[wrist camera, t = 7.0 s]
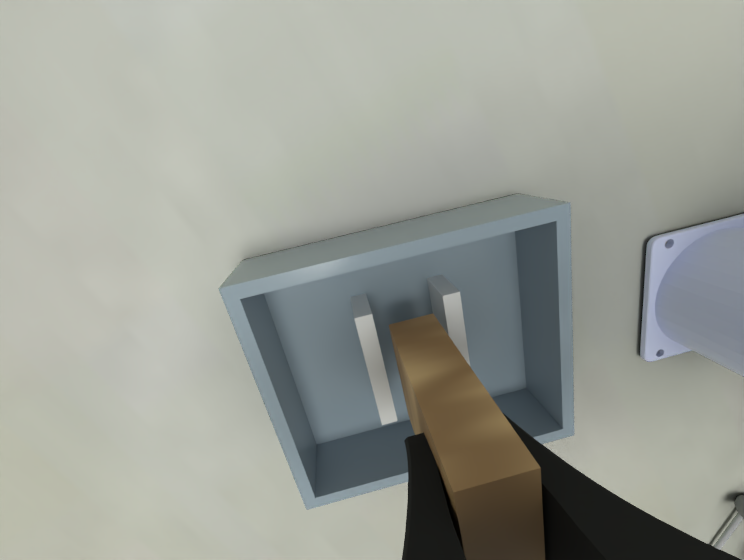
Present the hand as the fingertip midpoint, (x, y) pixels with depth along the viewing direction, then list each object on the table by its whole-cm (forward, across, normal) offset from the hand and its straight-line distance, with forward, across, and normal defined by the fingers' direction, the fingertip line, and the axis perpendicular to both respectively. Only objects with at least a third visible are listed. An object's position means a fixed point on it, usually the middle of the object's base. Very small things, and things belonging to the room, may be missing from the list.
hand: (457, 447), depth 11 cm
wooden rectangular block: (+5, 0, 0) cm, 5 cm away
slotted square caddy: (+8, 0, 0) cm, 8 cm away
